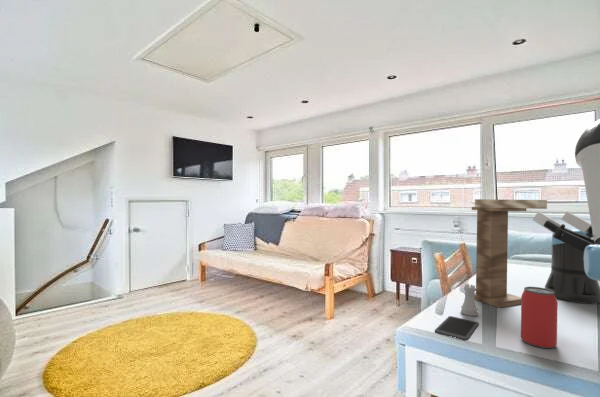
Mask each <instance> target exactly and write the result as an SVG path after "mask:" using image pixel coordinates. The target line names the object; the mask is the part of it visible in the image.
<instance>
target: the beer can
mask: <svg viewBox="0 0 600 397" xmlns="http://www.w3.org/2000/svg"><path fill="white" fill-rule="evenodd" d="M554 294H555V292H554V291H552V290H549V289H545V287H539V286H525V287H524V288H523V291H522V294H521V296H520V297H521V304H520V305H521V306H520V310H521V311H520V338H521V340H522V341H523V342H525V343H527V345H530V346H533V347H536V348H539V349H540V348H542V349H552V348H555V347H557V346H558V345H557V344H558V303H559V302H558V301H557V300H558V298H556V297H555V295H554Z"/></svg>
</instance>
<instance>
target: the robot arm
mask: <svg viewBox="0 0 600 397" xmlns="http://www.w3.org/2000/svg"><path fill="white" fill-rule="evenodd" d="M574 157H575V158H574V159H575V163H576V164H577V166H578V167H580V168H581V169H582V176H583V181H584V187H585V194H586V200H587V207H588V213H589V219H590V222H588V221H586V220H585V219H582V218H581V217H579V216H577V215H576V214H573V213H571V212H570V211H566V212H565V213H564V215H563V216H562V217H561V219H560V220H561V221H563V222H565V223H566V224H568V225H570V226H572V227H573V228H572V227H571V228H567V227H566V225H565V224H562V223H560V222H559V221H556V220H555V219H553V218H551V217H550V216H548V215H546V214H544V213H543V212H541V211H537V212H536V214H535V216H534V217H533V218H532V221H534V222H535V223H537V224H538V225H540V226H541V227H542V228H544V229H546V230H548V231H550V232H551V233H552V235H551V241H550V245H551V262H550V263H551V270H550V273H549V276H548V278H547V280H546V283H545V285H544V288H545V289H549V290H552V291H554V292H555V294H554V295H555V297H556V299H557V300H558V299H559V300H563V301H568V302H573V303H574V302H575V303H582V304H592V303H596V304H600V284H599V282H600V119H598V120H596V121H595V122H593V123H592V124H591V125H589V126H588V127H587V128H586V129H585V130H584V132H583V133H582V134H581V135H580V137H579V138H578V140H577V142H576V145H575V149H574Z"/></svg>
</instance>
